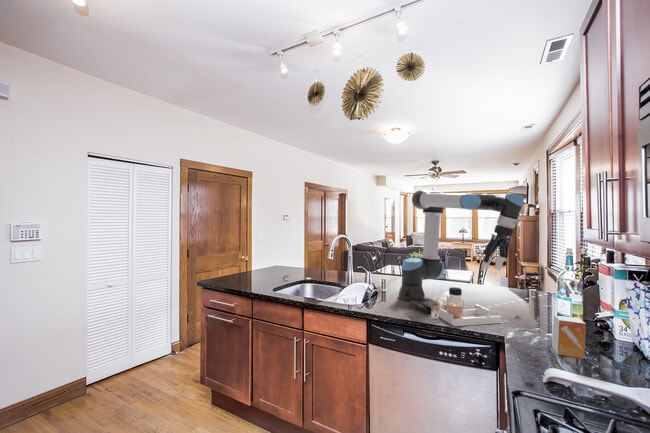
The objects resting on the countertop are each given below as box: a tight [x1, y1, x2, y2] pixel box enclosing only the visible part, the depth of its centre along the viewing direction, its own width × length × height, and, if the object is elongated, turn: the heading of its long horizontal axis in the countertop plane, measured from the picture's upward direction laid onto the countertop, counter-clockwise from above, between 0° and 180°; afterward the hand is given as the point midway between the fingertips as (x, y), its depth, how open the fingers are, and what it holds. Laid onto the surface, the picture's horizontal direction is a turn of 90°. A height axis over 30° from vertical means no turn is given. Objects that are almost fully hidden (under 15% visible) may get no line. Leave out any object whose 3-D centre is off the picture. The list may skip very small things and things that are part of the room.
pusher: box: [474, 303, 491, 317], centre depth 147 cm, size 8×4×5 cm, turn 13°
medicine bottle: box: [446, 286, 465, 310], centre depth 160 cm, size 7×7×12 cm
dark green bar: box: [406, 300, 432, 315], centre depth 157 cm, size 5×3×15 cm
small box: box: [551, 314, 587, 360], centre depth 113 cm, size 8×6×13 cm
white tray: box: [436, 308, 504, 327], centre depth 145 cm, size 14×26×5 cm, turn 103°
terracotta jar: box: [446, 302, 463, 319], centre depth 143 cm, size 7×7×7 cm
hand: (490, 269), depth 145 cm, fingers open, 13 cm apart
